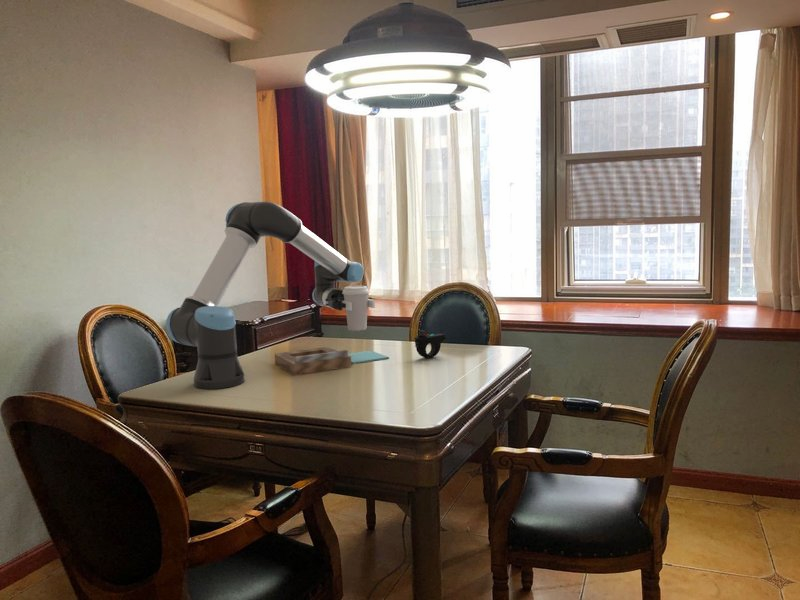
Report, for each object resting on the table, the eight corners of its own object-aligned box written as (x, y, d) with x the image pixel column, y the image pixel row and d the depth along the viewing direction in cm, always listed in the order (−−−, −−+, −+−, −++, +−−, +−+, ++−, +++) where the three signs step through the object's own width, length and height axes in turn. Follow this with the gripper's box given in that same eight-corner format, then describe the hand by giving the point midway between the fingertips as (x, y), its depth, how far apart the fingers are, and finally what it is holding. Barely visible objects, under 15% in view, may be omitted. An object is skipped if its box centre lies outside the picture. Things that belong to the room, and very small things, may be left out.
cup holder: (294, 375, 205) (293, 358, 204) (275, 363, 222) (274, 348, 222) (351, 366, 215) (350, 350, 214) (328, 356, 232) (327, 341, 231)
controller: (413, 359, 223) (412, 330, 222) (440, 354, 230) (440, 326, 229) (420, 361, 220) (419, 332, 219) (448, 355, 227) (447, 328, 225)
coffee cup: (338, 329, 227) (336, 287, 225) (361, 325, 233) (359, 284, 231) (353, 332, 219) (351, 289, 217) (376, 328, 225) (374, 286, 223)
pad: (352, 364, 218) (352, 362, 218) (336, 356, 230) (336, 355, 230) (388, 358, 225) (388, 357, 225) (371, 352, 237) (371, 350, 237)
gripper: (360, 306, 246) (389, 312, 226) (310, 311, 236) (335, 319, 216) (360, 286, 245) (388, 291, 225) (309, 291, 235) (334, 297, 215)
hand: (362, 305), depth 221 cm, fingers closed on coffee cup, 8 cm apart
